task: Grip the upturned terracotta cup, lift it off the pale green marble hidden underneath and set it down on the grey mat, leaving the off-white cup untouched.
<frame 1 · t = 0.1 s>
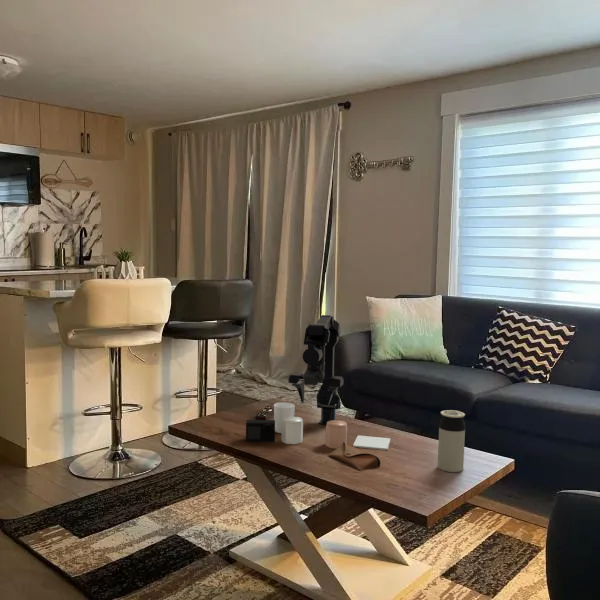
hand: (315, 404, 213), 14 cm above the table, tool pointing down, fingers open, 9 cm apart
sunglasses case: (352, 462, 199), on the table
white cup: (283, 431, 230), on the table
off-white cup: (292, 441, 218), on the table
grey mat: (372, 443, 217), on the table
digital camera: (260, 441, 217), on the table
pale green marble: (336, 440, 214), in the terracotta cup
terracotta cup: (336, 445, 214), on the table
travel mug: (450, 469, 194), on the table
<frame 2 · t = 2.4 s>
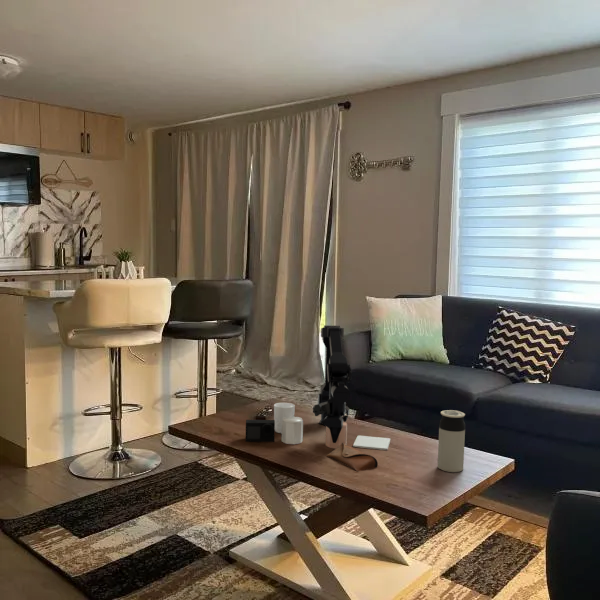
hand: (336, 439, 214), 2 cm above the table, tool pointing down, fingers closed on terracotta cup, 7 cm apart
terracotta cup: (336, 445, 214), on the table, touching gripper
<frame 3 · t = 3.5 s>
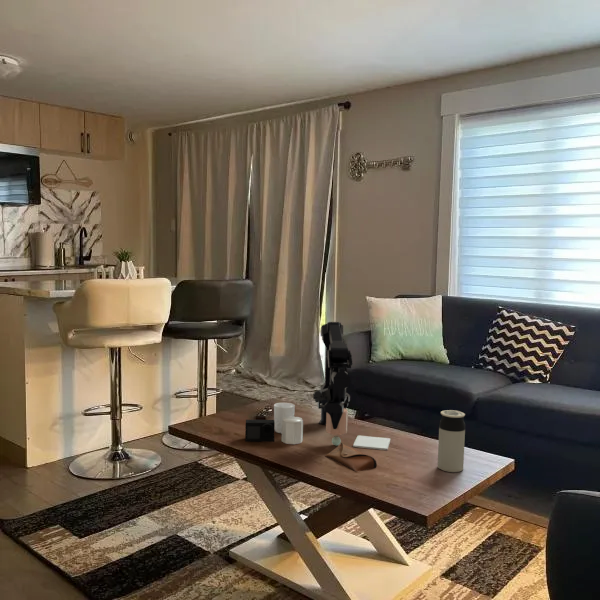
hand: (336, 426, 213), 7 cm above the table, tool pointing down, fingers closed on terracotta cup, 7 cm apart
terracotta cup: (336, 431, 214), point 5 cm above the table, touching gripper
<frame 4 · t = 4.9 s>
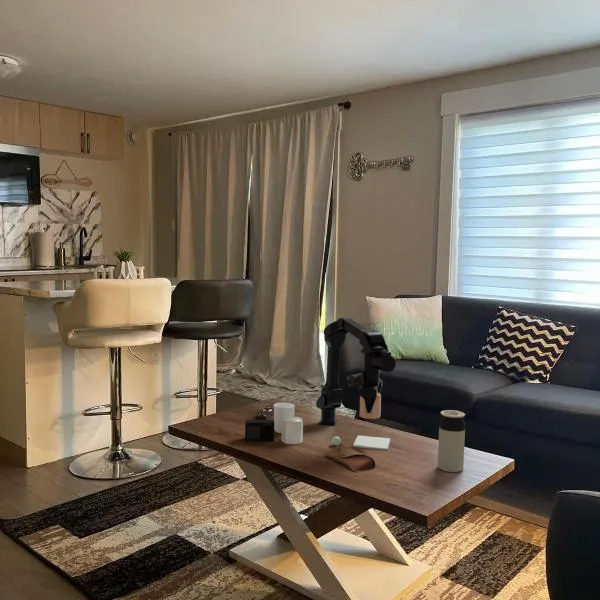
hand: (370, 410, 216), 12 cm above the table, tool pointing down, fingers closed on terracotta cup, 7 cm apart
terracotta cup: (369, 416, 216), point 10 cm above the table, touching gripper
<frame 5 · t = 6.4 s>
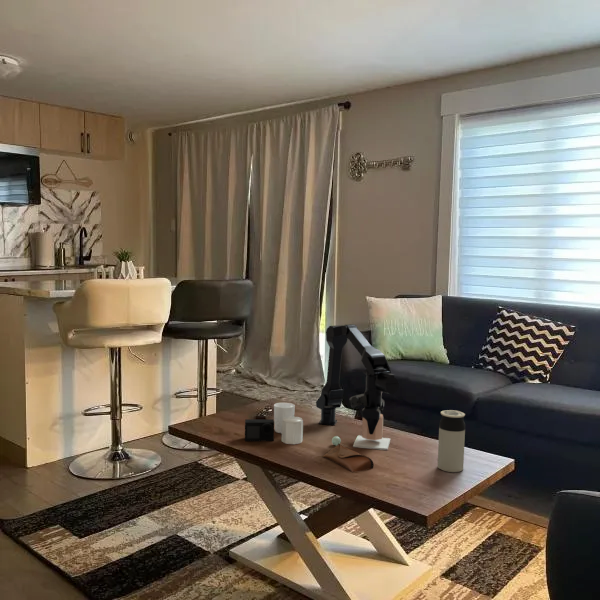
hand: (372, 431, 217), 4 cm above the table, tool pointing down, fingers closed on terracotta cup, 7 cm apart
terracotta cup: (372, 436, 217), point 2 cm above the table, touching gripper
when the fingers open (4 cm above the table, at t = 7.5 s): terracotta cup drops 1 cm, resting on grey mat.
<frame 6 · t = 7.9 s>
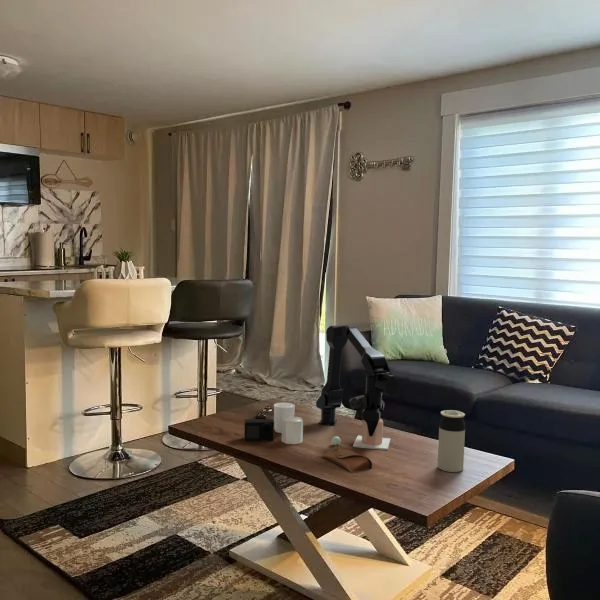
hand: (372, 432, 217), 4 cm above the table, tool pointing down, fingers open, 9 cm apart
terracotta cup: (372, 441, 217), point 1 cm above the table, touching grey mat
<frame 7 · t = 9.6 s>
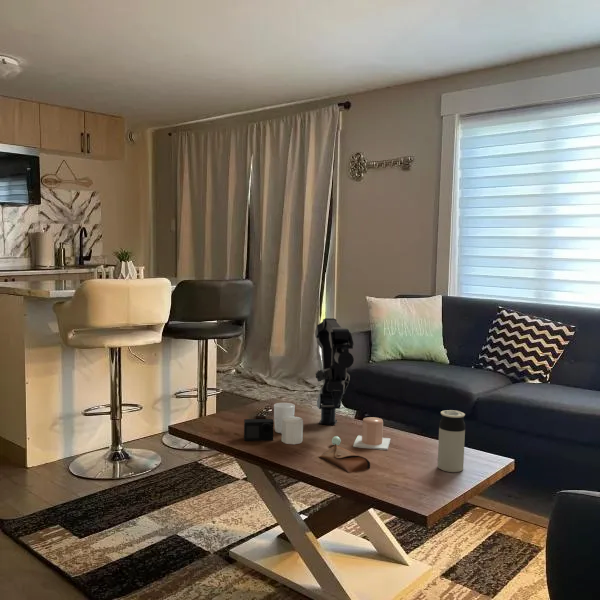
hand: (337, 403, 225), 12 cm above the table, tool pointing down, fingers open, 9 cm apart
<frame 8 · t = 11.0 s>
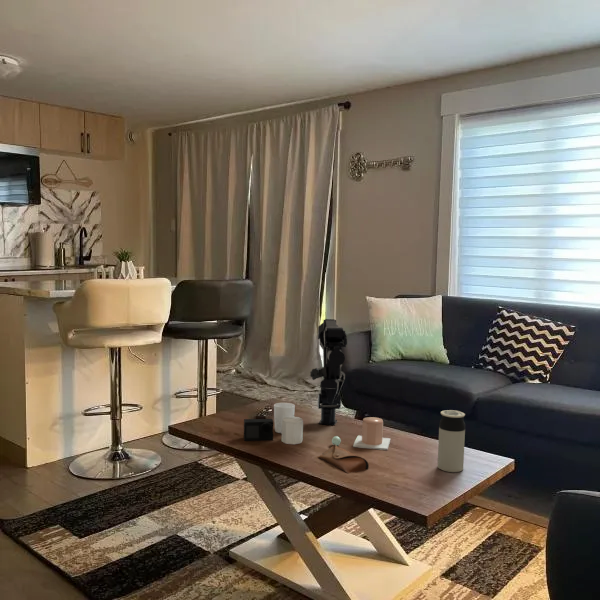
hand: (332, 402, 227), 12 cm above the table, tool pointing down, fingers open, 9 cm apart
at the end: terracotta cup inside the target area on the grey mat (0.0 cm from its centre), point 0.6 cm above the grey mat's base; terracotta cup tilted 0°; the gripper is holding nothing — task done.
